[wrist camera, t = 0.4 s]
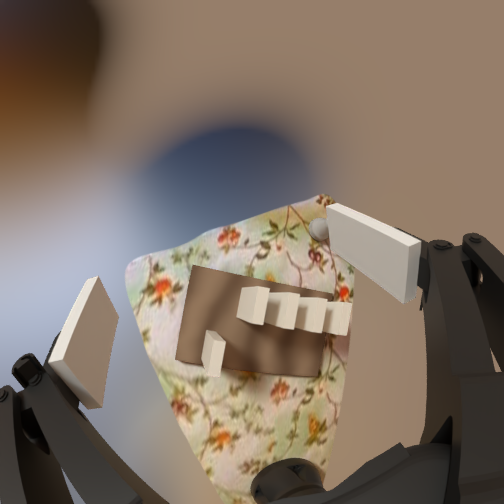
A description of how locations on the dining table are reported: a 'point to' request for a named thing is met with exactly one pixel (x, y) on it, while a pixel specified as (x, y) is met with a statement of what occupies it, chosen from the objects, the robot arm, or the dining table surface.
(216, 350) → the domino
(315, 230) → the rook chess piece
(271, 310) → the domino
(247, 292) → the domino
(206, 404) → the dining table surface
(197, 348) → the walnut board
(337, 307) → the domino
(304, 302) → the domino
